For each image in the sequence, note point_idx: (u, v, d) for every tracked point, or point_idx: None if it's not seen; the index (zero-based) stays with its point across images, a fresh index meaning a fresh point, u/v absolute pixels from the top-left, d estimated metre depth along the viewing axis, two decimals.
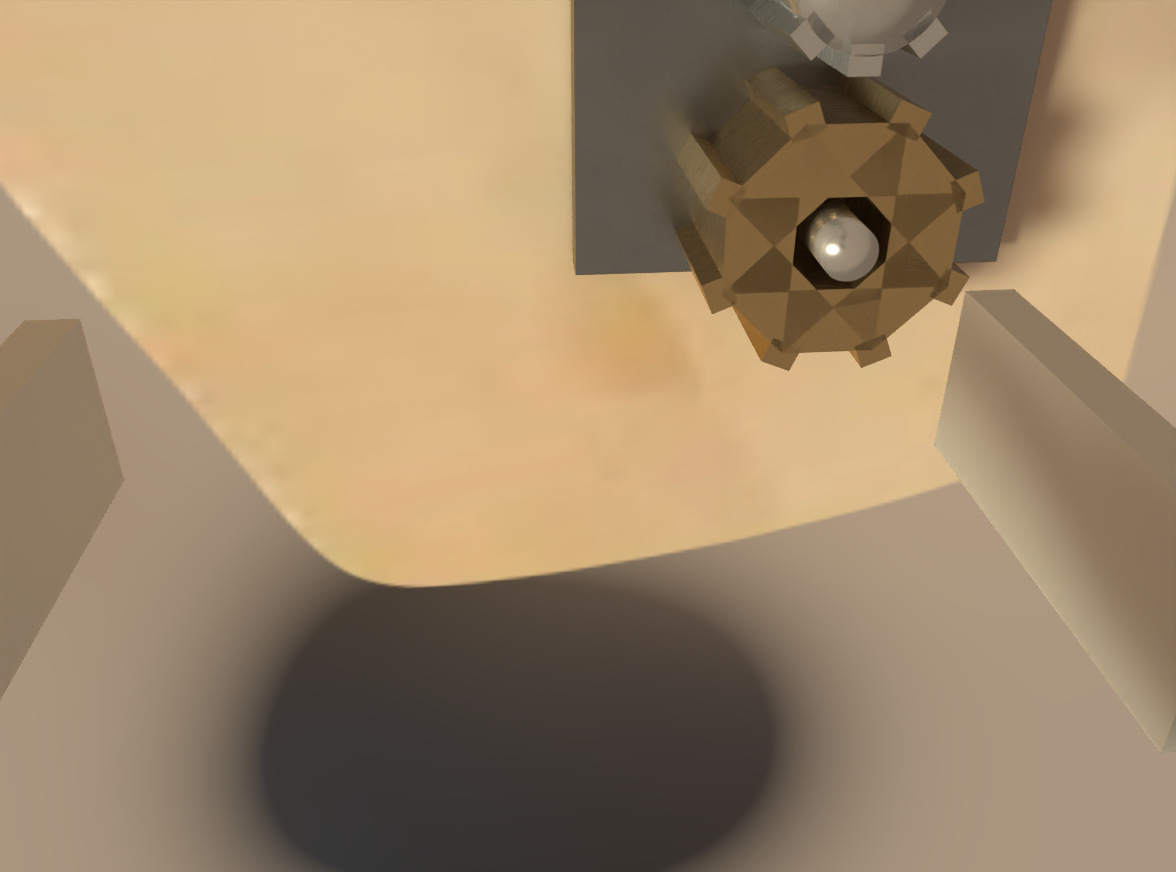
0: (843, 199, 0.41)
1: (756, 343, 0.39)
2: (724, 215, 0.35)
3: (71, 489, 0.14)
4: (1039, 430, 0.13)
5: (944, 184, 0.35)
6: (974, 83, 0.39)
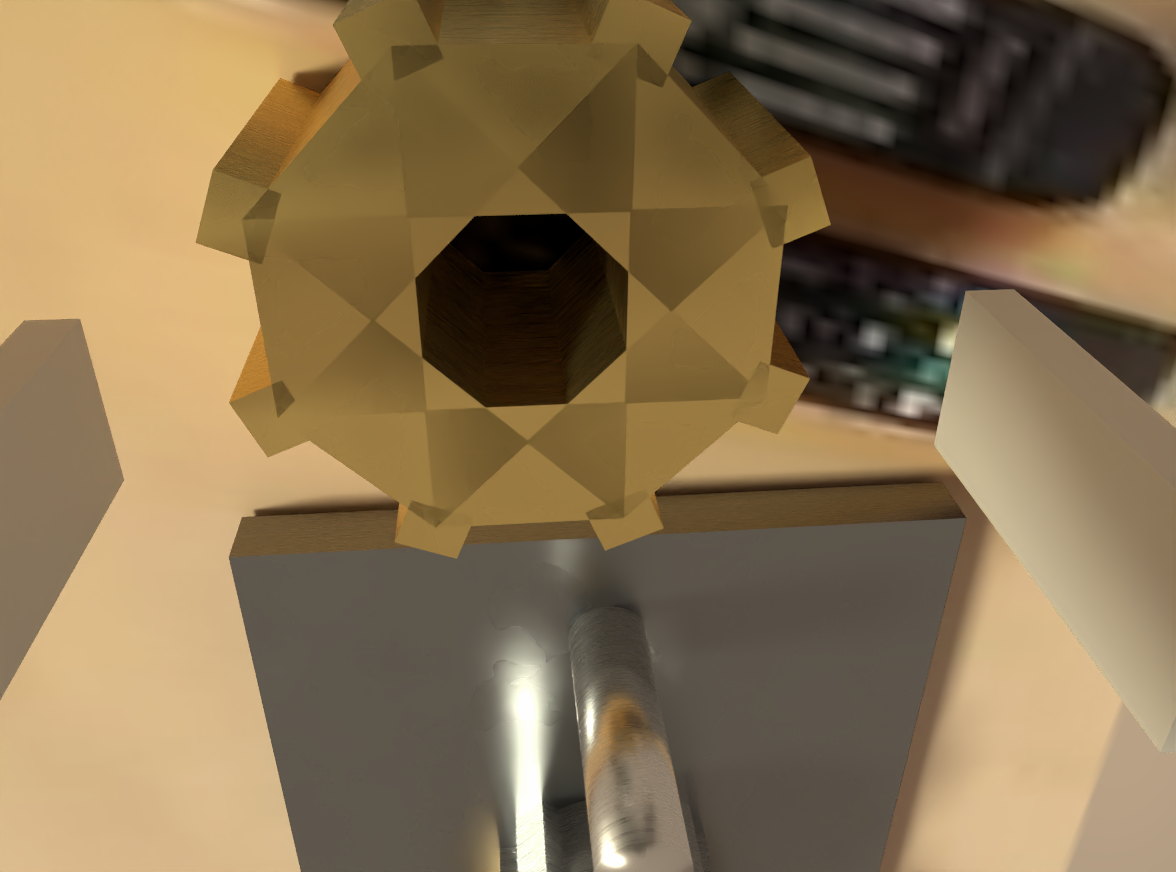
0: None
1: None
2: None
3: (71, 489, 0.14)
4: (1040, 431, 0.13)
5: None
6: None
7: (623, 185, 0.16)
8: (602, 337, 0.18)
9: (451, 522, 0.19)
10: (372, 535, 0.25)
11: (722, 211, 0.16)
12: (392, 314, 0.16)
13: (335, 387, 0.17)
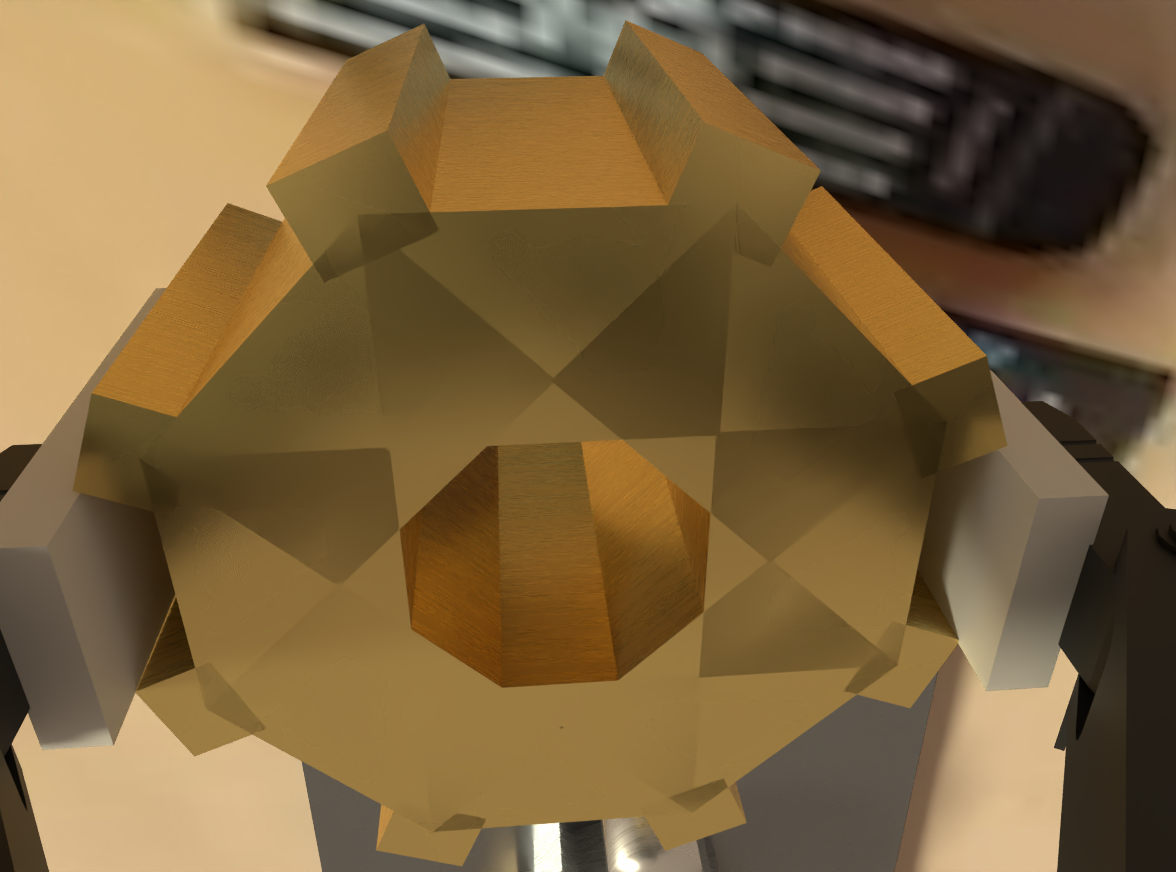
0: None
1: None
2: None
3: None
4: None
5: None
6: None
7: (707, 400, 0.10)
8: (663, 576, 0.13)
9: (454, 824, 0.13)
10: None
11: (851, 431, 0.11)
12: (366, 575, 0.11)
13: (287, 669, 0.12)
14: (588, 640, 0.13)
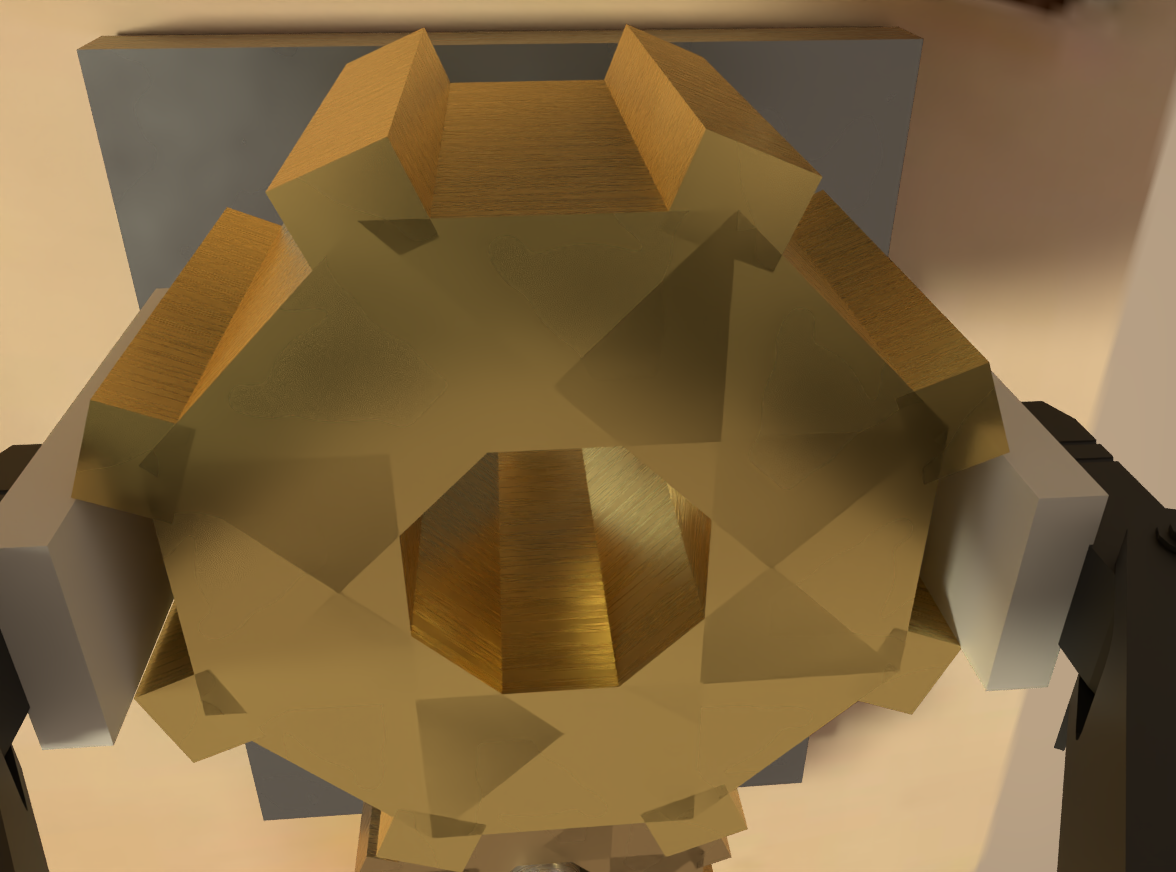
0: None
1: None
2: None
3: None
4: None
5: None
6: None
7: (708, 407, 0.10)
8: (664, 582, 0.13)
9: (454, 831, 0.13)
10: (245, 42, 0.22)
11: (852, 438, 0.11)
12: (366, 583, 0.11)
13: (286, 676, 0.12)
14: (589, 646, 0.13)
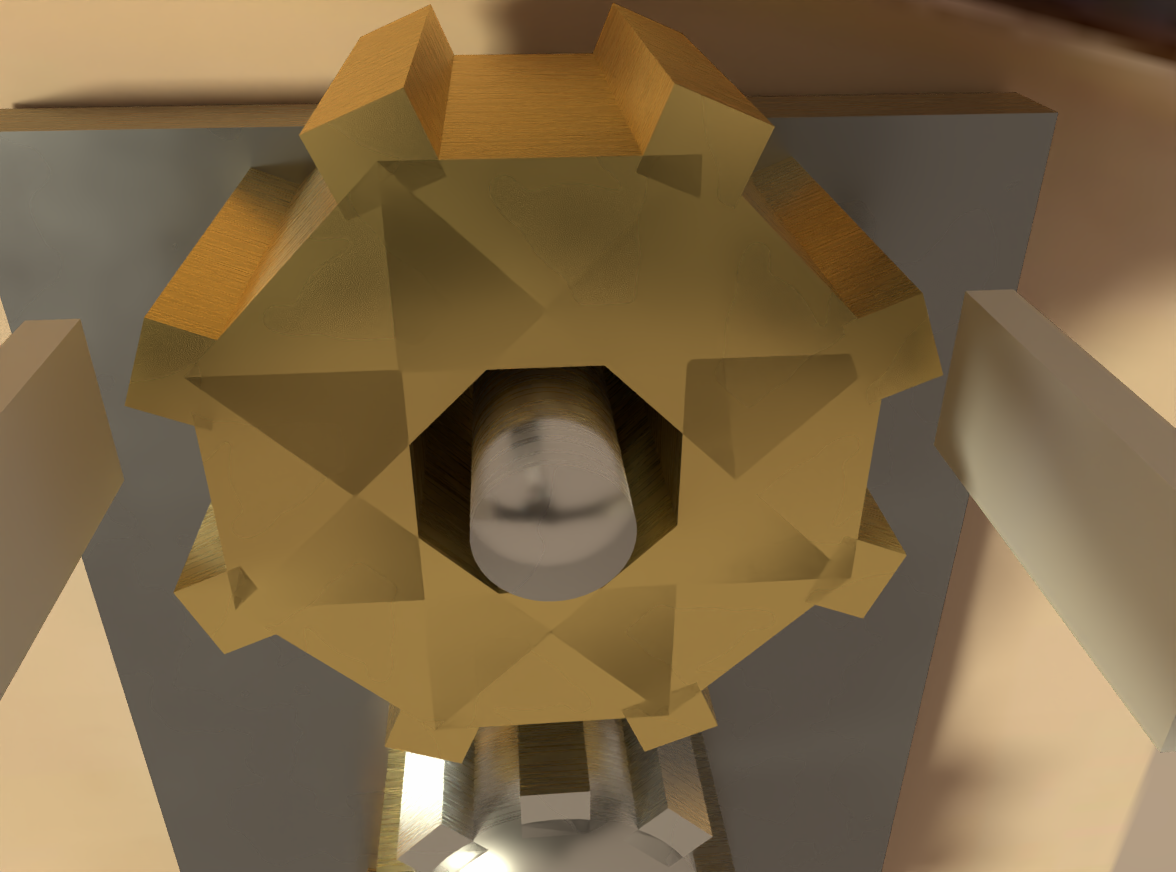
0: None
1: None
2: None
3: (71, 489, 0.14)
4: (1039, 431, 0.13)
5: None
6: (807, 792, 0.25)
7: (679, 330, 0.12)
8: (643, 498, 0.14)
9: (455, 723, 0.15)
10: (175, 120, 0.17)
11: (805, 360, 0.12)
12: (379, 487, 0.13)
13: (308, 573, 0.13)
14: None
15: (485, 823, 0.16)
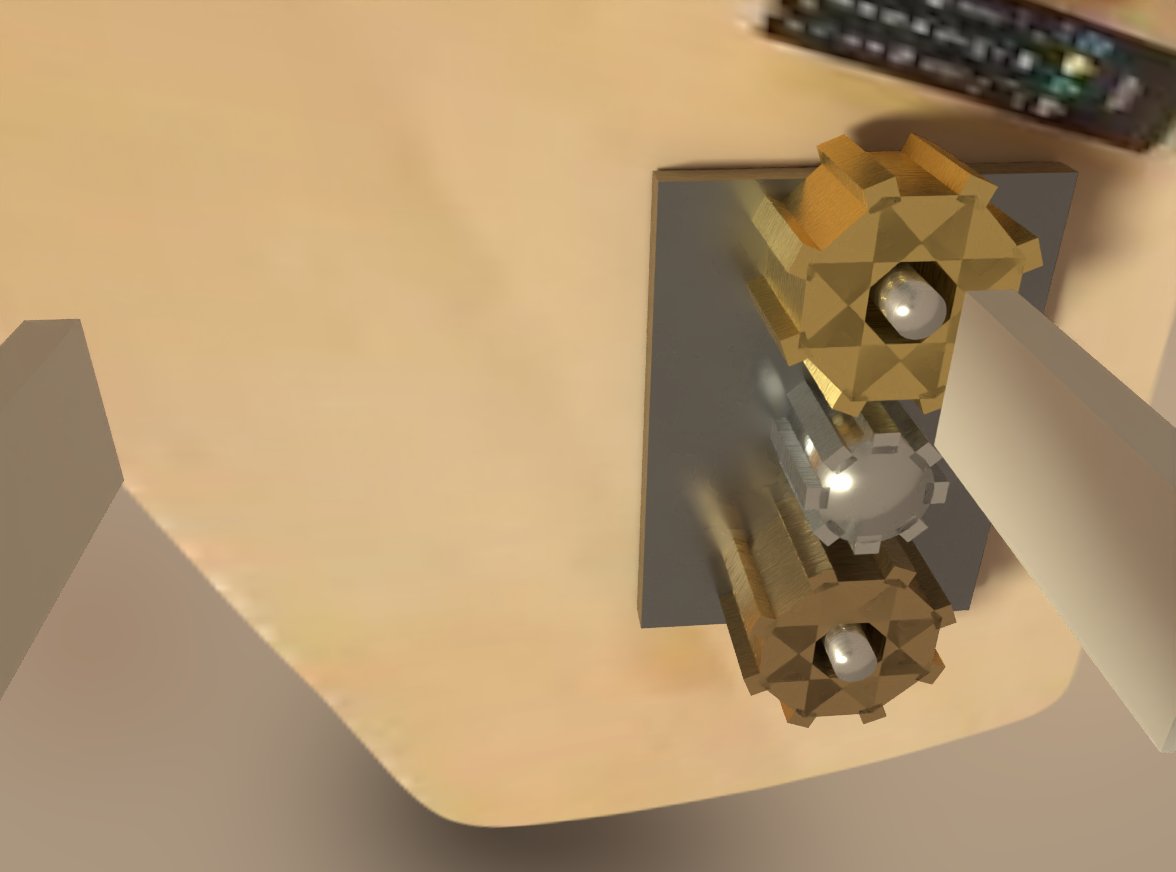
0: None
1: (783, 702, 0.51)
2: (762, 636, 0.47)
3: (71, 489, 0.14)
4: (1040, 431, 0.13)
5: (926, 613, 0.47)
6: (950, 500, 0.51)
7: (961, 249, 0.38)
8: None
9: (858, 399, 0.41)
10: (734, 176, 0.42)
11: (999, 259, 0.38)
12: (856, 302, 0.39)
13: (825, 334, 0.39)
14: None
15: (856, 449, 0.42)
